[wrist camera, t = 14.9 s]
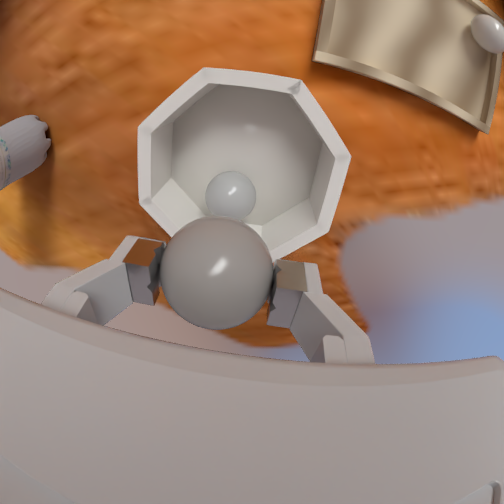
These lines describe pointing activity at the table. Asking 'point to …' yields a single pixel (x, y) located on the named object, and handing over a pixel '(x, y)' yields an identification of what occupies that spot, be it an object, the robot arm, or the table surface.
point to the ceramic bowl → (244, 155)
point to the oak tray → (415, 51)
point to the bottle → (22, 148)
